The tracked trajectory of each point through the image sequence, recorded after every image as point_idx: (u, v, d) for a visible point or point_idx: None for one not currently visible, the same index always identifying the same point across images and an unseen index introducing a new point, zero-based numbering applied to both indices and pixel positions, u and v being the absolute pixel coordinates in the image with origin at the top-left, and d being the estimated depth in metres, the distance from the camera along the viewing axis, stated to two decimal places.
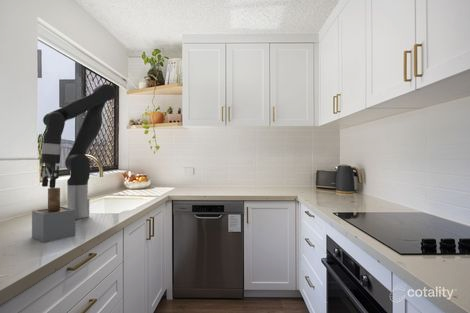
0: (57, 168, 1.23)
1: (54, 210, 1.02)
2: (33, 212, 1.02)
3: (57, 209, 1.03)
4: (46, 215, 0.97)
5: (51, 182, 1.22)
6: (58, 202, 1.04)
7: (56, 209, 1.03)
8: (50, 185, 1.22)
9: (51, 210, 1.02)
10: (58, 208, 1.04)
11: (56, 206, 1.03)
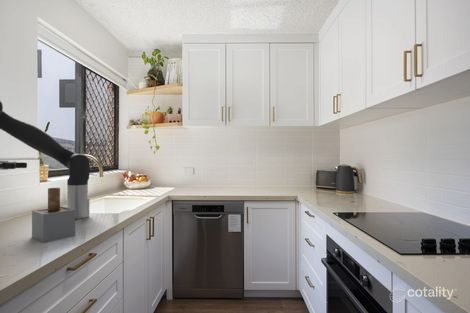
0: None
1: (54, 210, 1.02)
2: (33, 212, 1.02)
3: (57, 209, 1.03)
4: (46, 215, 0.97)
5: (6, 167, 0.95)
6: (58, 202, 1.04)
7: (56, 209, 1.03)
8: (11, 168, 0.96)
9: (51, 210, 1.02)
10: (58, 208, 1.04)
11: (56, 206, 1.03)
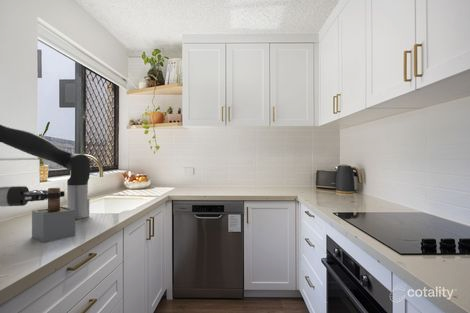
0: (28, 196, 0.96)
1: (54, 210, 1.02)
2: (33, 212, 1.02)
3: (57, 209, 1.03)
4: (46, 215, 0.97)
5: (52, 197, 1.01)
6: (58, 202, 1.04)
7: (57, 209, 1.03)
8: (56, 198, 1.02)
9: (51, 210, 1.02)
10: (58, 208, 1.04)
11: (56, 206, 1.03)
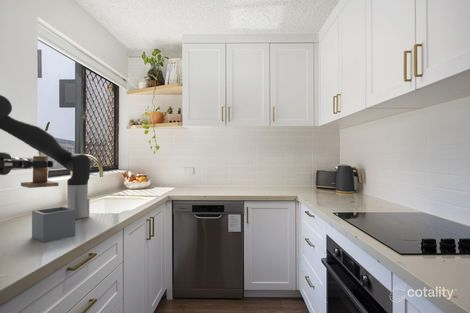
0: (9, 162, 0.82)
1: (40, 181, 0.88)
2: (33, 212, 1.02)
3: (43, 180, 0.89)
4: (46, 215, 0.97)
5: (37, 166, 0.87)
6: (45, 172, 0.89)
7: (43, 180, 0.88)
8: (43, 166, 0.87)
9: (36, 181, 0.87)
10: (45, 179, 0.89)
11: (43, 177, 0.88)
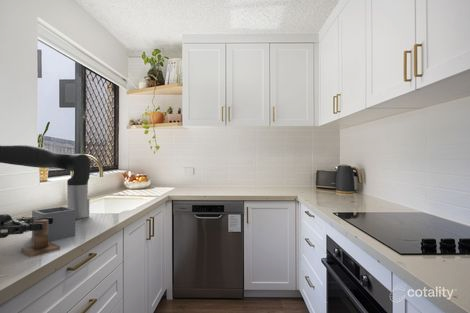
0: (4, 229, 0.80)
1: (41, 247, 0.87)
2: (33, 212, 1.02)
3: (44, 246, 0.88)
4: (46, 215, 0.97)
5: (33, 229, 0.84)
6: (46, 237, 0.88)
7: (44, 245, 0.88)
8: (38, 229, 0.84)
9: (37, 247, 0.87)
10: (46, 244, 0.88)
11: (44, 242, 0.88)
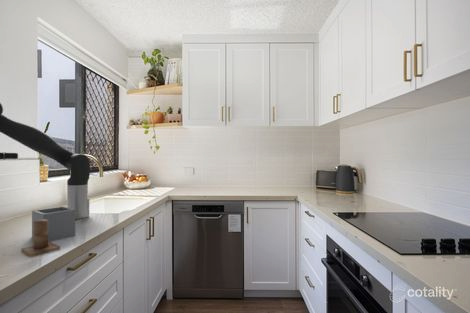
0: None
1: (41, 247, 0.87)
2: (33, 212, 1.02)
3: (44, 246, 0.88)
4: (46, 215, 0.97)
5: None
6: (46, 237, 0.88)
7: (44, 245, 0.88)
8: None
9: (37, 247, 0.87)
10: (46, 244, 0.88)
11: (44, 242, 0.88)
